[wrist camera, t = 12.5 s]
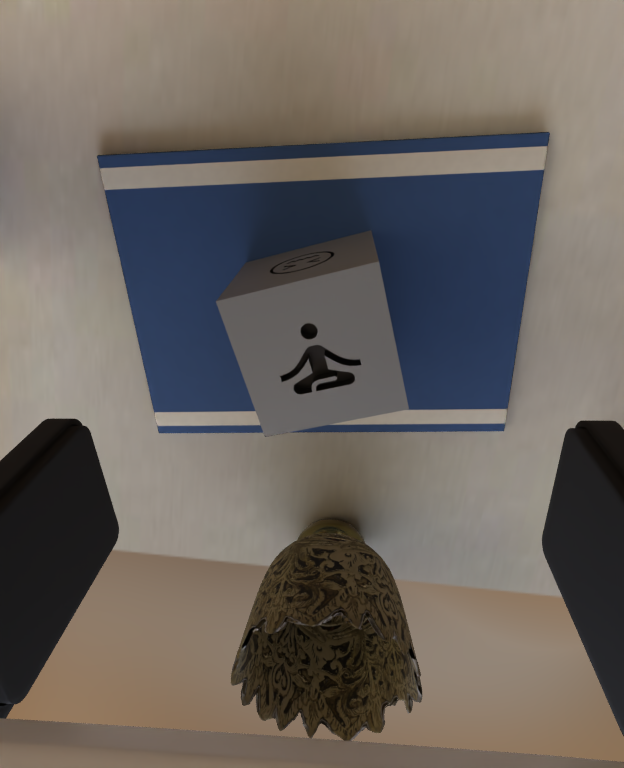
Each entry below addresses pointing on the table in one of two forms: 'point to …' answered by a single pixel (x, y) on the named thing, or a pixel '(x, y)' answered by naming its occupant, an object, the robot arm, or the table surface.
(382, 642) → the cup
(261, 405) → the dice cube
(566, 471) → the robot arm
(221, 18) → the table surface
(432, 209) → the cloth
